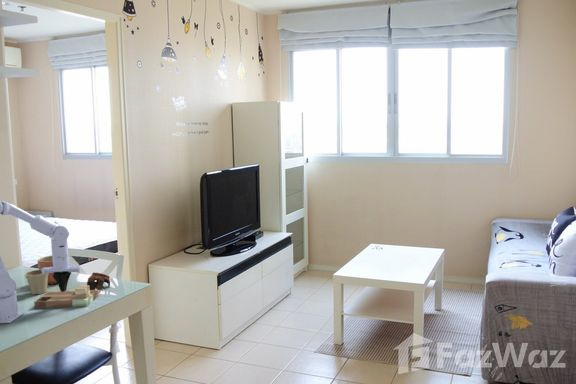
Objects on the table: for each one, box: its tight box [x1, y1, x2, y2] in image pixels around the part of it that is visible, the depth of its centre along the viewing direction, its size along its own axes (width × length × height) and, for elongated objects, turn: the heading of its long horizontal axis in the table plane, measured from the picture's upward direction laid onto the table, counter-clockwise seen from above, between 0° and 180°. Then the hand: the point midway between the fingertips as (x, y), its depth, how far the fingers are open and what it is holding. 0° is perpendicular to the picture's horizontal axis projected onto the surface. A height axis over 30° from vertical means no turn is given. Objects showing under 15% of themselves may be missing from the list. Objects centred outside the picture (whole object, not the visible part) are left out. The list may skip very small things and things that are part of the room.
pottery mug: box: [86, 272, 111, 291], centre depth 221 cm, size 12×10×8 cm
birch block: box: [74, 284, 90, 299], centre depth 203 cm, size 4×4×4 cm
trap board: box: [33, 289, 100, 309], centre depth 206 cm, size 12×20×2 cm, turn 89°
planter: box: [37, 254, 58, 285], centre depth 235 cm, size 12×12×11 cm
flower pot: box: [24, 269, 48, 295], centre depth 220 cm, size 9×9×9 cm
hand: (63, 291), depth 203 cm, fingers closed
